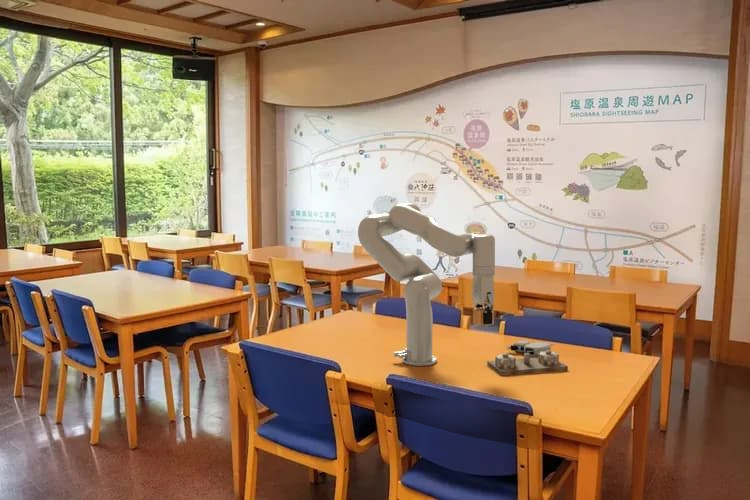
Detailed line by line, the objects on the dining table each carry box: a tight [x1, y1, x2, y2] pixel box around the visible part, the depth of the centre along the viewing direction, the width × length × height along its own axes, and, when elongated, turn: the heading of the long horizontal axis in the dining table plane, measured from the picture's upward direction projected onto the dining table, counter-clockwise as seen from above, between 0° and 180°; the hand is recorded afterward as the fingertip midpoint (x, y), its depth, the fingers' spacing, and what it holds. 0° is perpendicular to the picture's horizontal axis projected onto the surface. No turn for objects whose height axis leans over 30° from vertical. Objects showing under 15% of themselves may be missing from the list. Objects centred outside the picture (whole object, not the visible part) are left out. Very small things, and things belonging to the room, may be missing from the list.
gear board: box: [486, 350, 569, 376], centre depth 218 cm, size 25×12×6 cm, turn 102°
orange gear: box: [472, 306, 495, 327], centre depth 213 cm, size 7×7×5 cm
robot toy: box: [506, 340, 555, 358], centre depth 236 cm, size 12×4×15 cm
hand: (483, 321), depth 213 cm, fingers closed on orange gear, 7 cm apart
